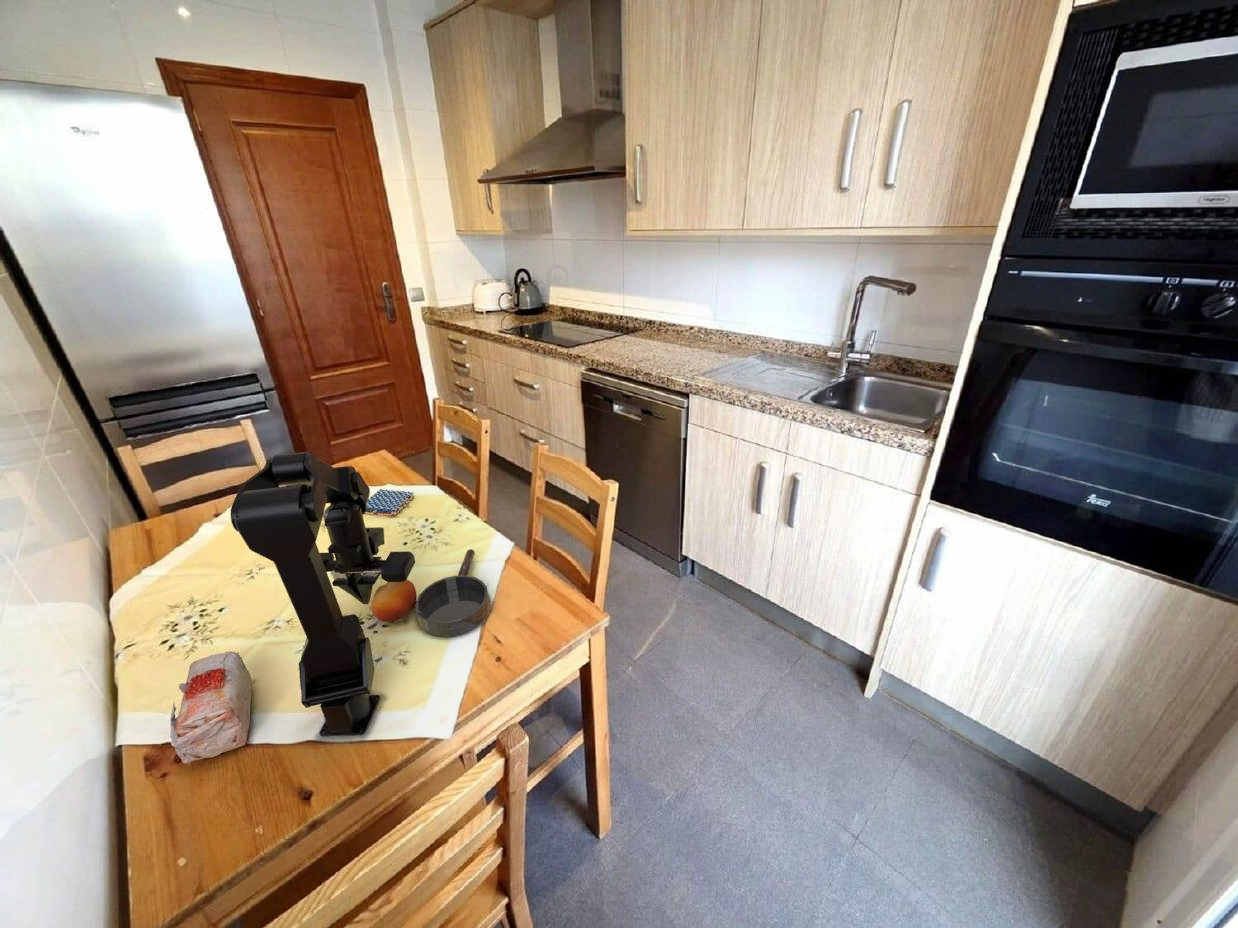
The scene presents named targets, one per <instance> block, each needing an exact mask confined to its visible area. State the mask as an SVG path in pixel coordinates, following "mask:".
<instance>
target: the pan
mask: <svg viewBox="0 0 1238 928" xmlns="http://www.w3.org/2000/svg"><path fill="white" fill-rule="evenodd" d="M415 607H416V609H415V612H416V613H415V614H416V617H417V621H418V624H419V627H420V628H421V630H422V631H423V632H425V633H426V634H428V635H430V636H432V637H435V638H453V637H458V636H463V635H465V634H467V633H469V632H472V631H473V630H475V629H476V628H478V627H479V626H480V625H482V623H483V622H484V621H486V618H487V617H488V615H489V613H490V609H491V602H490V595H489V590H488V586H487V585H486V583H484V581H483V580H481V579H479V578H477V577H474V576H471V575H467V576H466V575H464V576H458V575H453V576H452V575H451V576H447V577H443V578H441V579H439V580H436V581H434V582H432V583H431V584H429V585H428V586H426V587H425V588H424V589H423V590H422V591H421V592H420V593H419V594H418V595H417V598H416V606H415Z"/></svg>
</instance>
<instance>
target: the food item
mask: <svg viewBox="0 0 1238 928" xmlns="http://www.w3.org/2000/svg"><path fill="white" fill-rule="evenodd" d="M178 689H179V690H181V693H183V694H182V695H183V696H182V697H181V702H180V708H179V711H178V713H177V717H176V710H177V707H176V705H175V702H174V703H173V704H172V709H171V712H170V714H171V715H170V718H169V722H170V734H169V735H170V745H171V747H173V748H174V749H175V753H176V755H177V756H178V757H179V758H180V759H181V762H182V763H183V764H185V765H186V764H187V765H188V764H191V763H192V762H194V761H199V760H202V759H206V758H207V759H208V758H209V759H210V758H214V757H217V756H219V755H221V754H222V753H227V752H230V751H233V750H236V749H238V748H240V747H244V746H246V744H247V741H248V735H249V729H250V720H251V719H250V718H251V703H252V675H251V673H250V671H249V670H248V669H247V667H246V664H245V662H244V660H243V657H242V656H241V655H240V653H239V652H235V651H225V652H221V653H220V652H219V653H215V654H211V655H209V656H206V657H203V658H200V659H197V660H195V661H193V662H191V663H190V664H189V669H188V674H187V677H186V681H185V683H183V682H182V683H178Z"/></svg>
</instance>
